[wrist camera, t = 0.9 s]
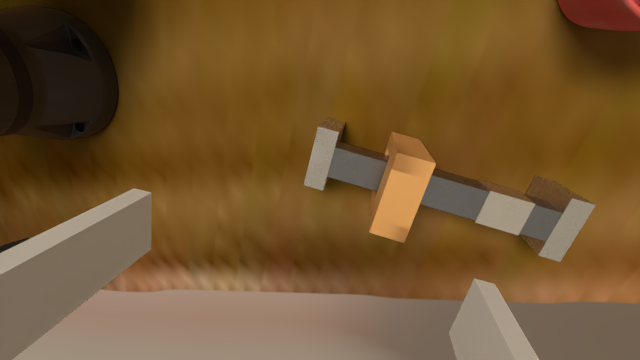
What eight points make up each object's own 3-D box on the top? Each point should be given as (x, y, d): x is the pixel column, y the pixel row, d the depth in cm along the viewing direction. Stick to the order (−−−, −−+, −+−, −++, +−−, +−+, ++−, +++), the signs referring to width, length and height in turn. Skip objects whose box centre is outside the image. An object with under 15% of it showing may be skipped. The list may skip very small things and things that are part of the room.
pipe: (315, 166, 37) (303, 185, 31) (328, 117, 35) (318, 126, 28) (527, 228, 35) (560, 262, 29) (554, 180, 33) (596, 205, 26)
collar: (371, 192, 35) (369, 232, 26) (391, 131, 32) (397, 152, 24) (396, 200, 35) (404, 243, 26) (419, 139, 32) (436, 163, 23)
